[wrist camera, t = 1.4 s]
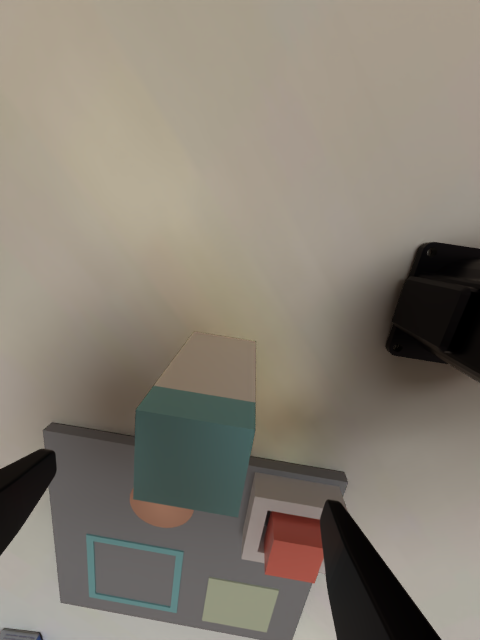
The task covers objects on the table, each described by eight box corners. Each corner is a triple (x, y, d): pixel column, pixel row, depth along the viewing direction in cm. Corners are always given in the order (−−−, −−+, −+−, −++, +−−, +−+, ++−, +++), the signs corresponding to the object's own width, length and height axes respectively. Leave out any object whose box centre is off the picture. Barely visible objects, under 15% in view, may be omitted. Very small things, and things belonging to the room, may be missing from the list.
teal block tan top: (255, 341, 16) (255, 429, 8) (246, 395, 17) (237, 517, 9) (194, 331, 16) (135, 409, 8) (188, 385, 17) (133, 499, 9)
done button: (318, 514, 17) (326, 549, 15) (308, 547, 18) (314, 583, 16) (271, 506, 17) (273, 539, 15) (263, 539, 18) (264, 574, 16)
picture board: (344, 472, 18) (358, 508, 16) (289, 632, 24) (293, 677, 21) (51, 422, 19) (20, 449, 16) (66, 591, 24) (45, 630, 22)
